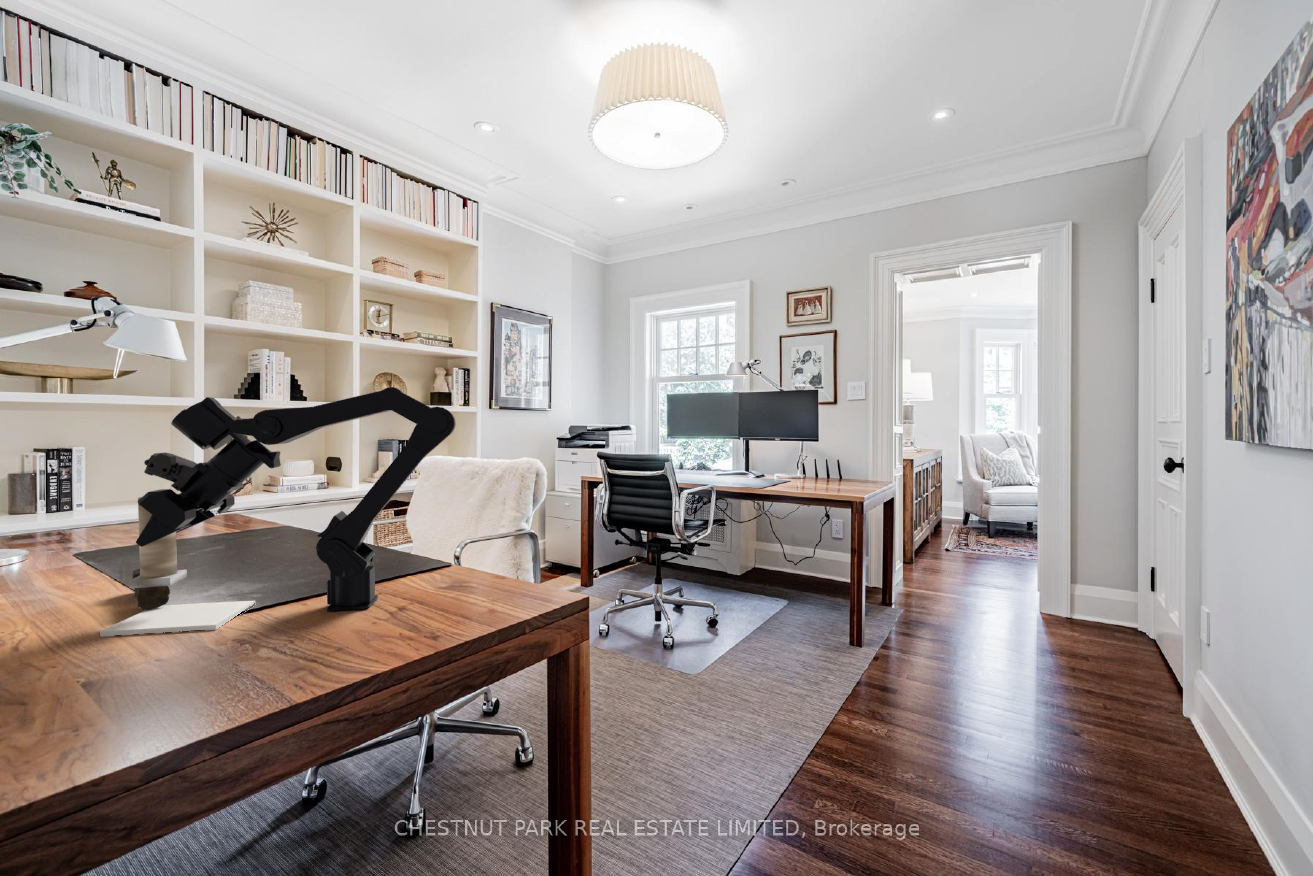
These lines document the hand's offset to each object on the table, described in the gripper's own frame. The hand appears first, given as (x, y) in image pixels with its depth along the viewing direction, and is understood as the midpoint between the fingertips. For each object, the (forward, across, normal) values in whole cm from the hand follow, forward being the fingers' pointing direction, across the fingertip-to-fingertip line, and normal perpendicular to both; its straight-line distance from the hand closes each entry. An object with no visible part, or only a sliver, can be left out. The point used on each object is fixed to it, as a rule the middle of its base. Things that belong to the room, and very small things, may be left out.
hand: (147, 541), depth 89 cm
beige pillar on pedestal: (+4, 0, +6) cm, 7 cm away
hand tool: (+13, -12, +4) cm, 18 cm away
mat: (+6, 0, +12) cm, 14 cm away
